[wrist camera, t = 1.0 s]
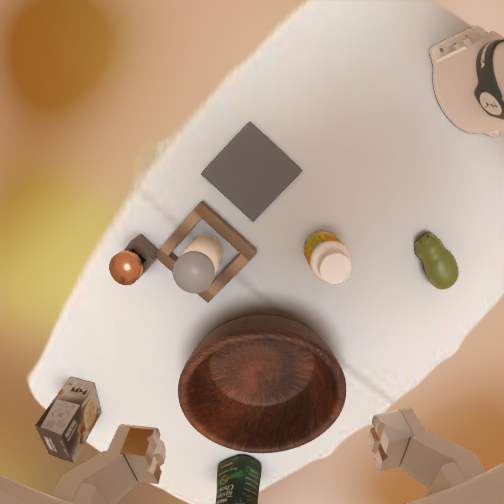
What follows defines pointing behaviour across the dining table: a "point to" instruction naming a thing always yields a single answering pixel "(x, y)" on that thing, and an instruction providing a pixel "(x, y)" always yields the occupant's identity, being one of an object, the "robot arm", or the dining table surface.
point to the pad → (251, 171)
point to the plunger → (126, 267)
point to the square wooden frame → (165, 252)
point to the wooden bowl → (262, 385)
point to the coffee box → (69, 419)
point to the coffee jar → (238, 481)
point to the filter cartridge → (198, 264)
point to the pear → (436, 261)
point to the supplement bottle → (328, 257)
